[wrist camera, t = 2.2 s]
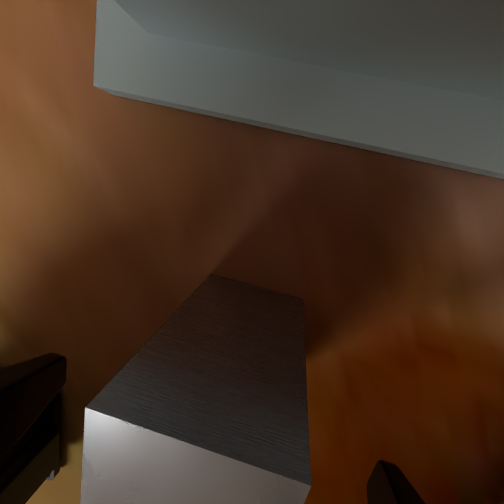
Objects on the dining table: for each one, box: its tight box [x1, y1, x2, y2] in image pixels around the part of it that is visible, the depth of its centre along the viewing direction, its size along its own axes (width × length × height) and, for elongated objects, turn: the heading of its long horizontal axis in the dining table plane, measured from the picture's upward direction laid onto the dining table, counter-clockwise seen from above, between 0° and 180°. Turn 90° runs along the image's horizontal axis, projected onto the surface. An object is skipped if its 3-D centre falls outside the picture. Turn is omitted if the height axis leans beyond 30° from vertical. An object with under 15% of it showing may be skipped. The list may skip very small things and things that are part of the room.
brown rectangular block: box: [80, 274, 311, 504], centre depth 8 cm, size 4×4×7 cm
